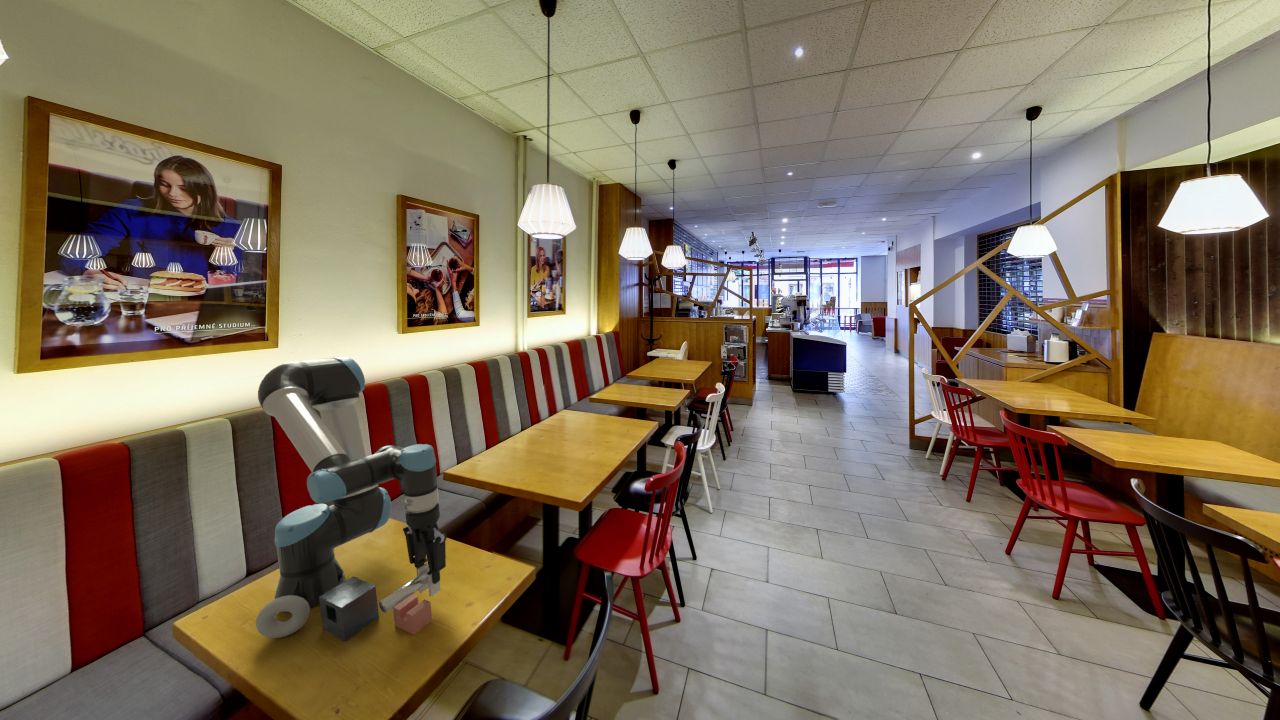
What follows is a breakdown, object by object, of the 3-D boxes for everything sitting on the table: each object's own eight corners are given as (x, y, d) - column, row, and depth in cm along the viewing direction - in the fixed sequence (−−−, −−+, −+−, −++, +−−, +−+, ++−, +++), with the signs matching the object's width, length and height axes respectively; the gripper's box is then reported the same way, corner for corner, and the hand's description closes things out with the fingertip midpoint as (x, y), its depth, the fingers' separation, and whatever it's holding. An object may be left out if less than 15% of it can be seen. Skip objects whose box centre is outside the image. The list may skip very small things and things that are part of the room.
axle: (378, 609, 94) (379, 598, 93) (431, 573, 106) (431, 563, 106) (387, 614, 92) (387, 603, 92) (439, 578, 105) (439, 568, 105)
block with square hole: (322, 629, 98) (318, 596, 97) (356, 607, 105) (353, 576, 104) (345, 642, 95) (341, 607, 93) (379, 618, 102) (375, 585, 101)
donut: (256, 648, 93) (250, 609, 92) (261, 637, 96) (255, 600, 95) (310, 632, 98) (305, 595, 96) (313, 622, 101) (309, 586, 99)
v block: (394, 625, 99) (392, 607, 99) (413, 611, 104) (411, 594, 103) (413, 634, 97) (412, 616, 96) (432, 619, 101) (430, 601, 100)
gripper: (386, 507, 101) (395, 591, 104) (431, 520, 94) (439, 610, 97) (414, 494, 108) (421, 574, 111) (457, 505, 101) (464, 590, 104)
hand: (429, 590), depth 104 cm, fingers closed on axle, 3 cm apart
